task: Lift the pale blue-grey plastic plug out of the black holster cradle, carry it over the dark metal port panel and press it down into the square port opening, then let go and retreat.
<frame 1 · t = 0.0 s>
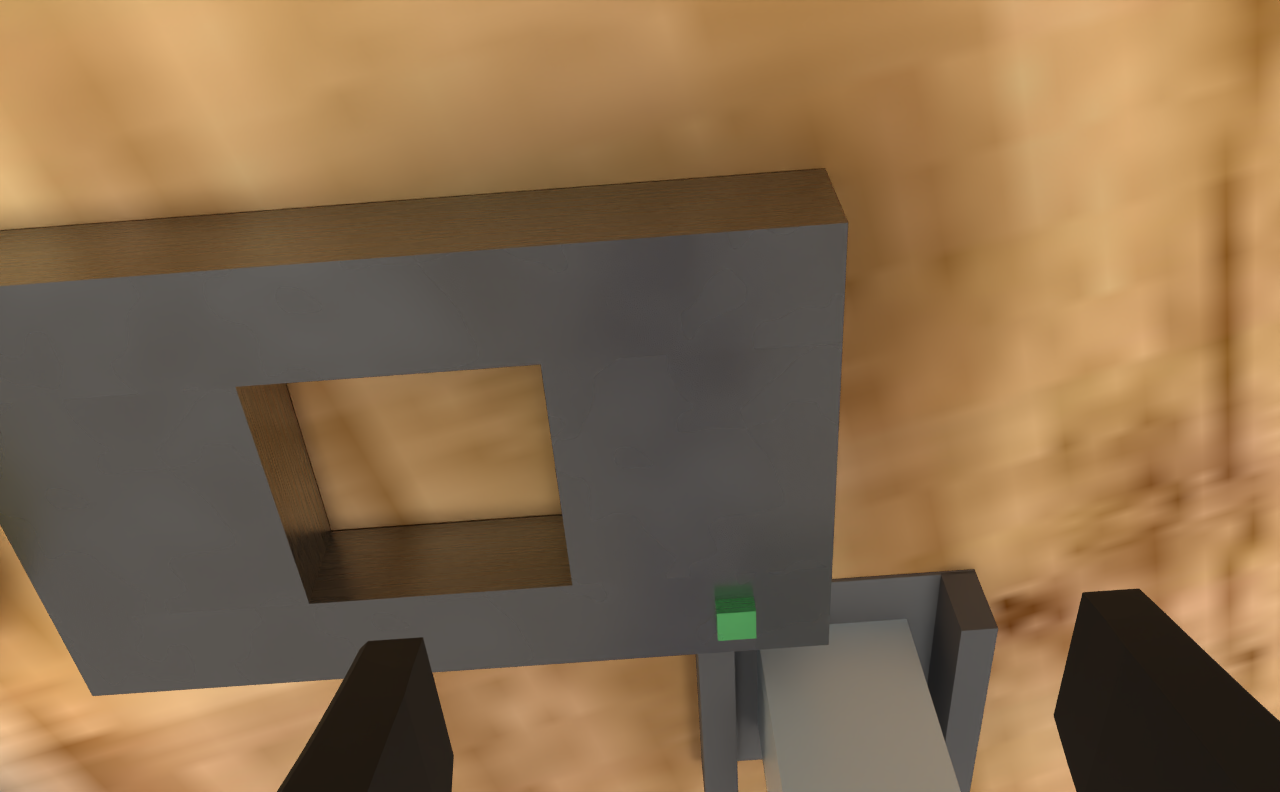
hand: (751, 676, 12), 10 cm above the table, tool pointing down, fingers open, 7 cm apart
port panel: (430, 424, 22), on the table
plug: (829, 674, 27), on the table, touching holster
holster: (828, 672, 27), on the table
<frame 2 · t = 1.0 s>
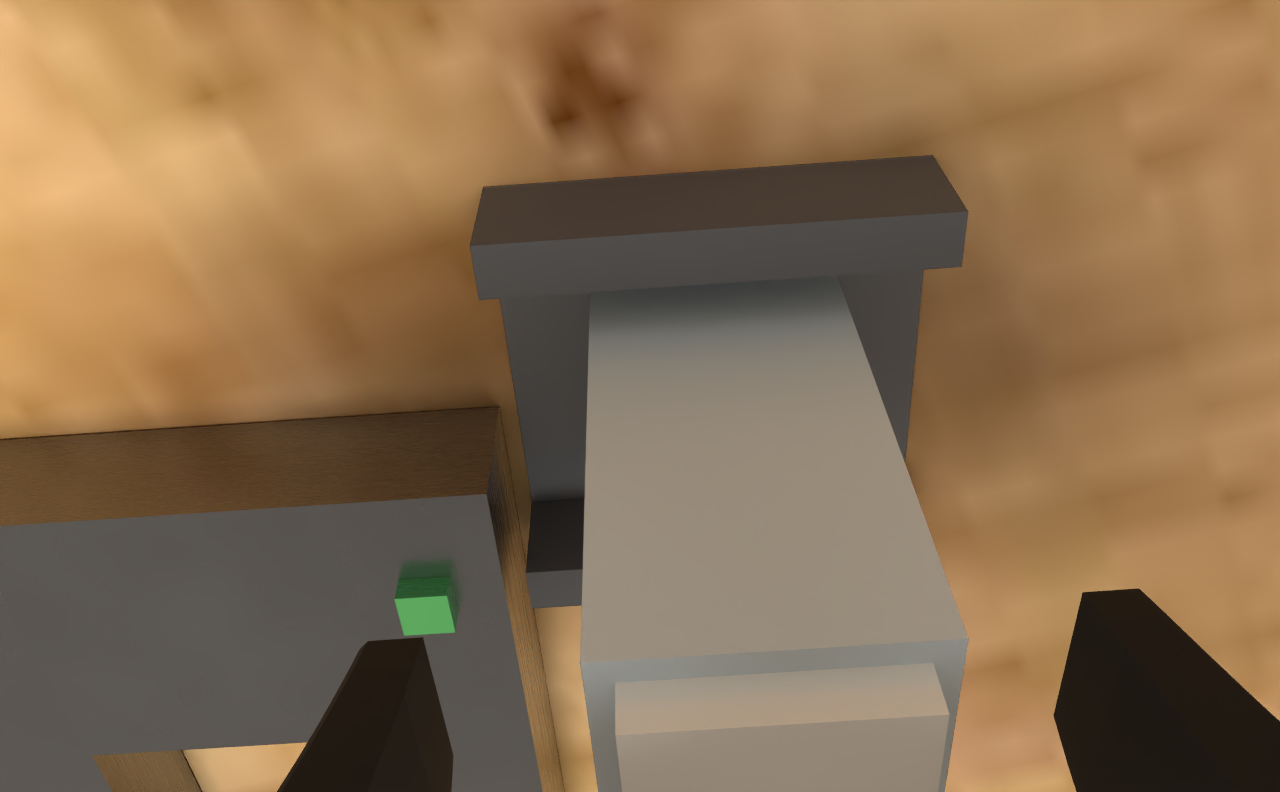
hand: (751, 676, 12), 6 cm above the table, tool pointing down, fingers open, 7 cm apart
port panel: (310, 740, 22), on the table
plug: (713, 368, 17), on the table, touching holster
holster: (713, 366, 17), on the table
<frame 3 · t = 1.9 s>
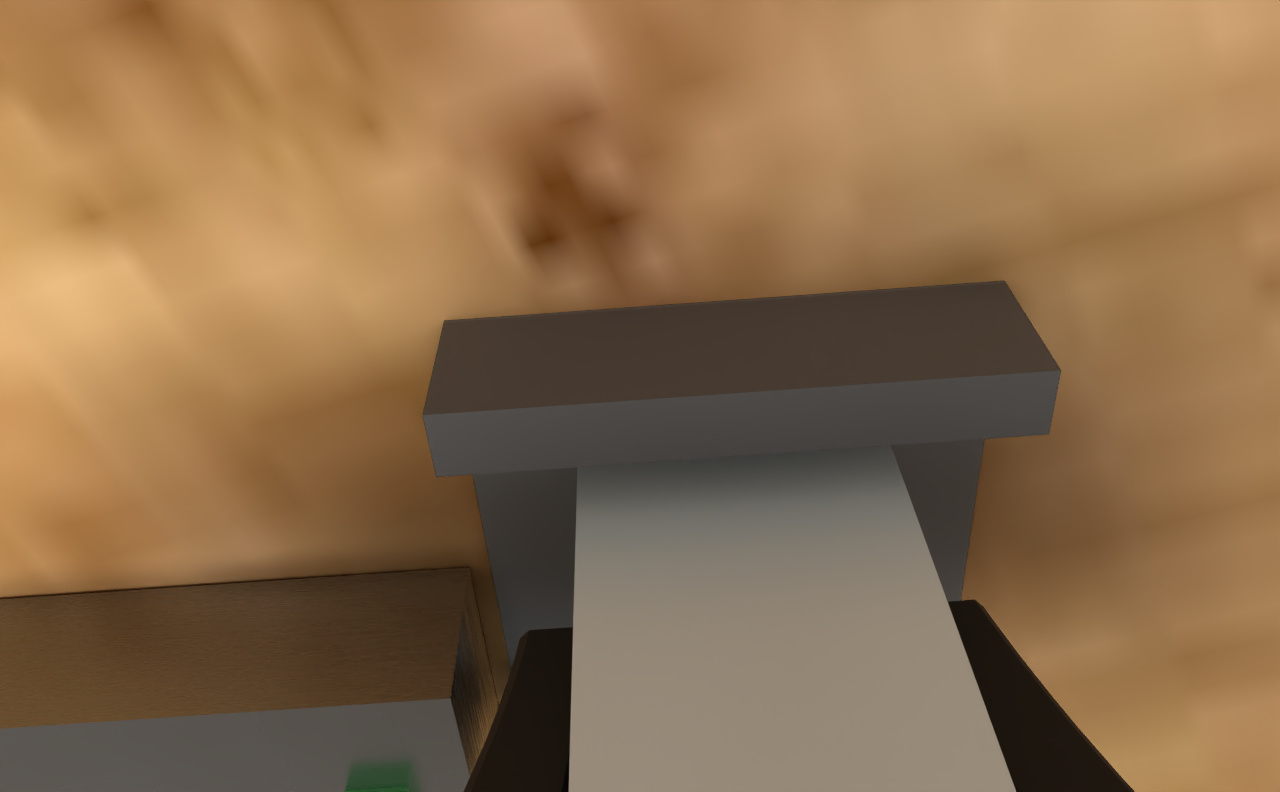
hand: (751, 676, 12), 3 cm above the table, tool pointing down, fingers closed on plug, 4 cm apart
plug: (729, 523, 14), on the table, touching gripper, holster
holster: (728, 521, 14), on the table
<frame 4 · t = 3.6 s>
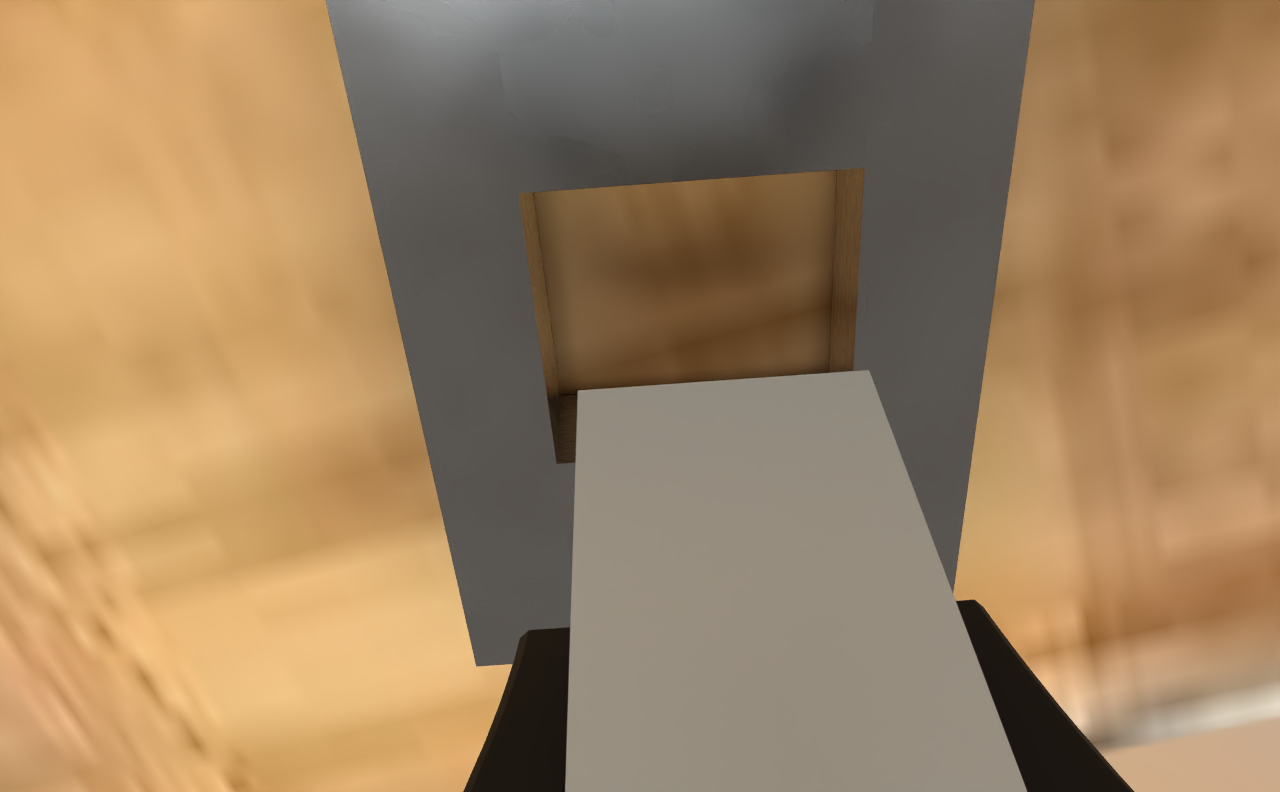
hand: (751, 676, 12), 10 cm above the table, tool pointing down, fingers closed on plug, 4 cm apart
port panel: (688, 267, 20), on the table
plug: (726, 493, 14), point 7 cm above the table, touching gripper
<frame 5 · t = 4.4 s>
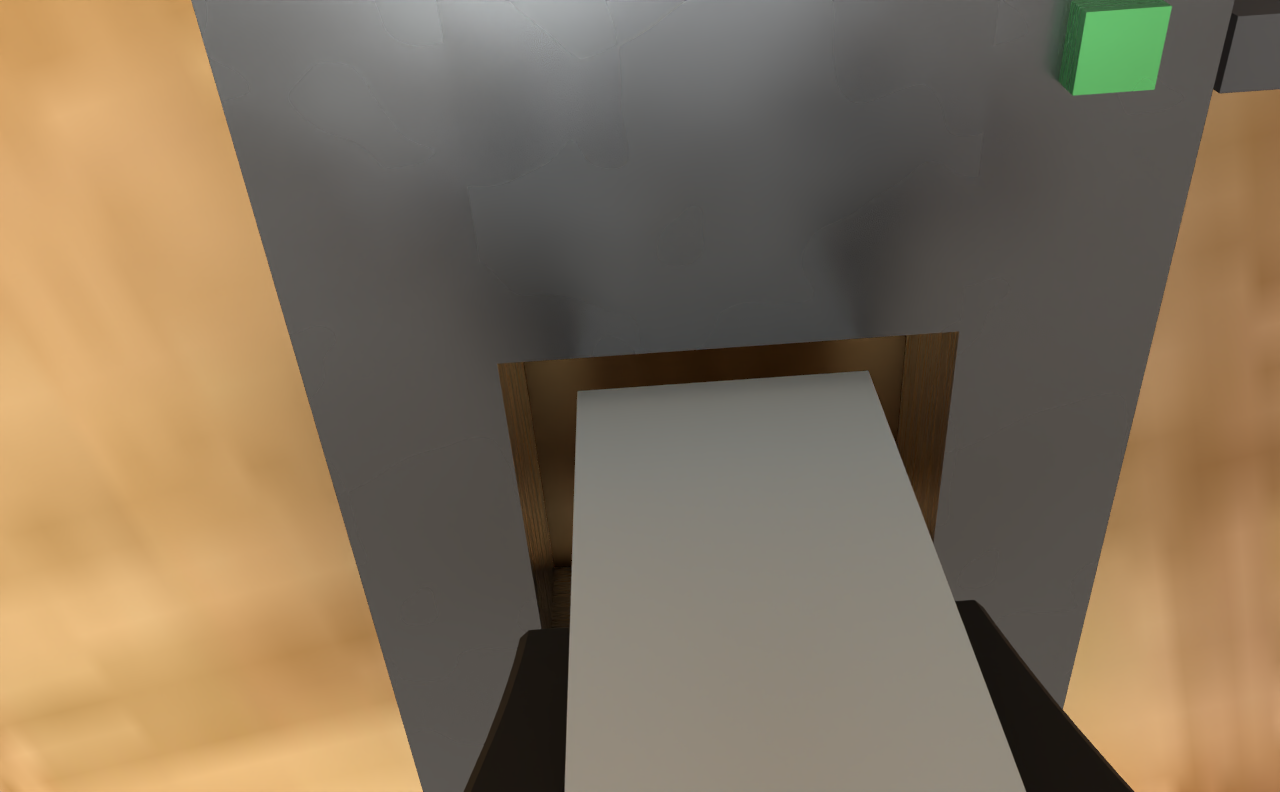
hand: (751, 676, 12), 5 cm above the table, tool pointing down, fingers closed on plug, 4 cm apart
port panel: (716, 422, 16), on the table
plug: (725, 493, 14), point 2 cm above the table, touching gripper
when the fingers open (4 cm above the table, at t = 5.0 s): plug stays where it is, on the table.
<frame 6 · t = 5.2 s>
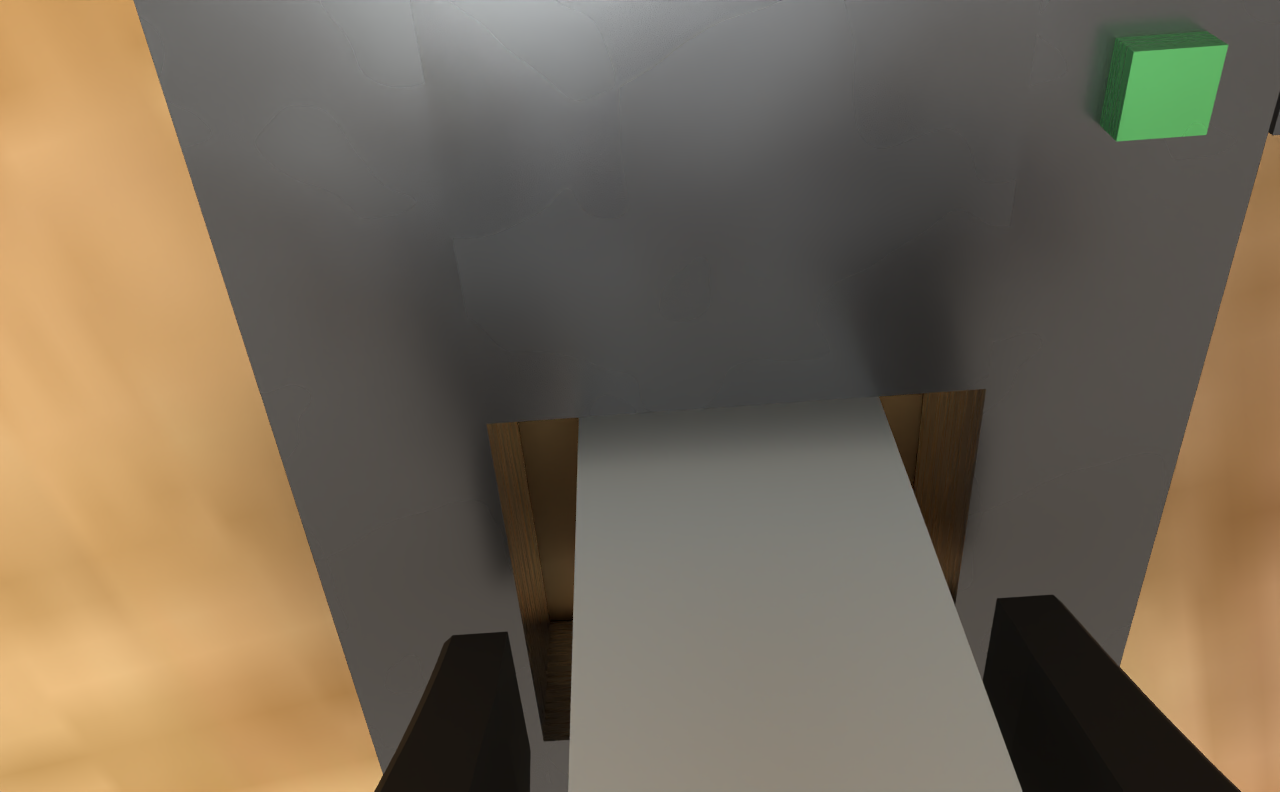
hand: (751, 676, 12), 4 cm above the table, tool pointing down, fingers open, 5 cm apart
port panel: (722, 472, 15), on the table
plug: (721, 462, 15), on the table
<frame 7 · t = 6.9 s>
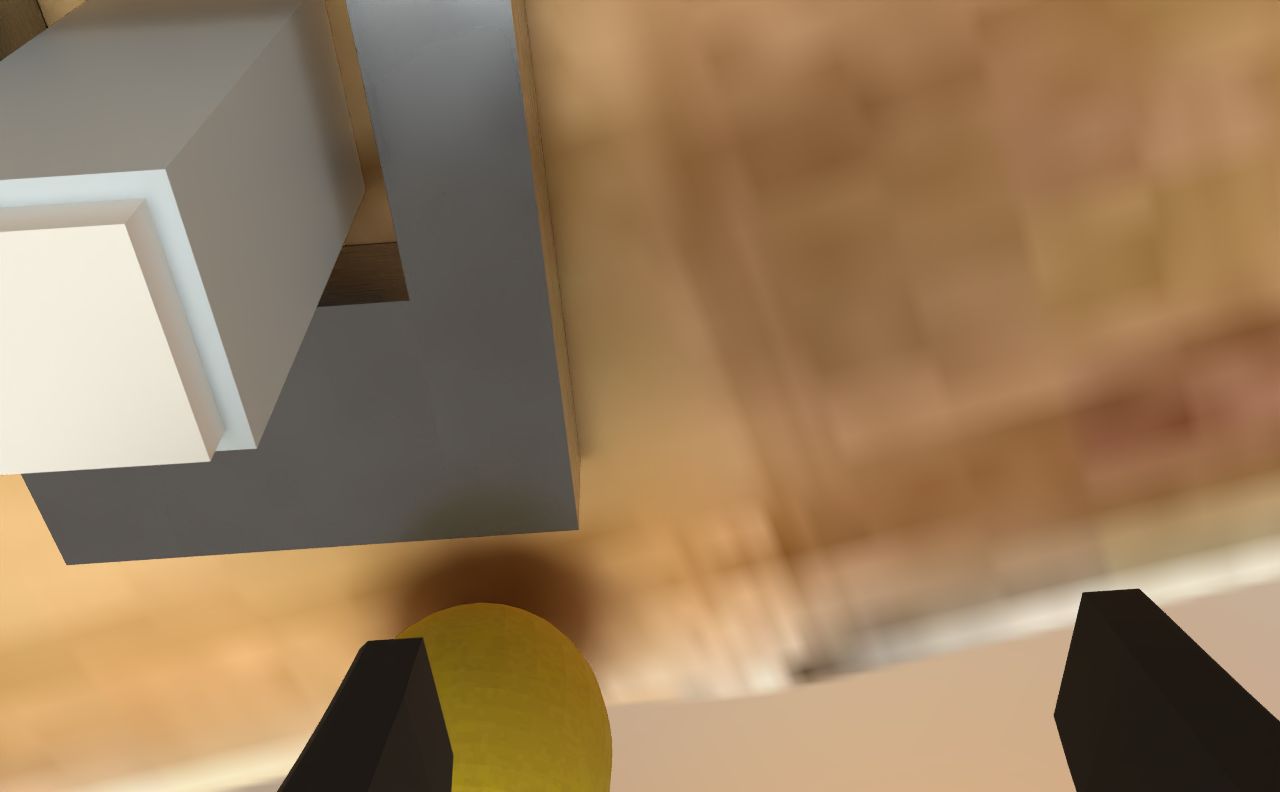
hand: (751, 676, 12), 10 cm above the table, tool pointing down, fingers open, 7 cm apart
port panel: (239, 107, 18), on the table
lemon: (493, 610, 26), on the table
plug: (237, 98, 18), on the table
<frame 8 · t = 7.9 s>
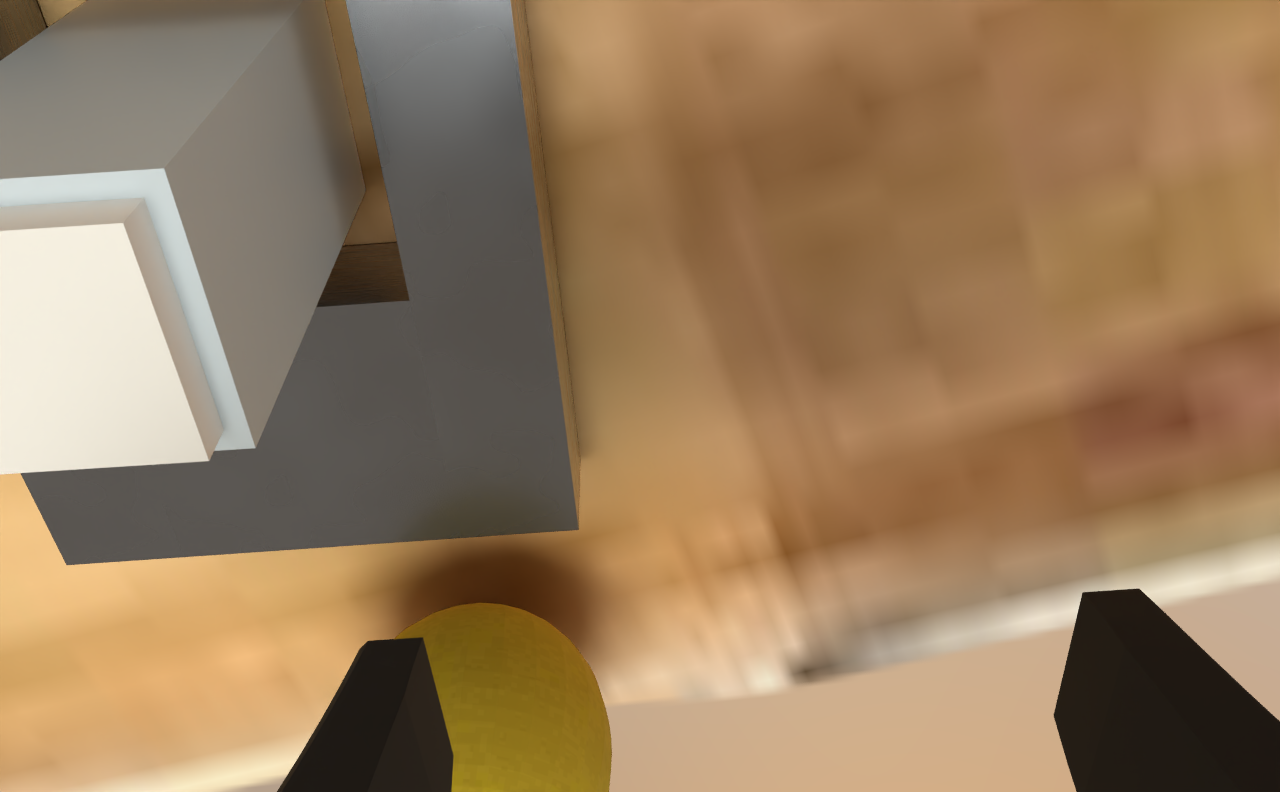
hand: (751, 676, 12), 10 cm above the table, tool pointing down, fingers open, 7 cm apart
port panel: (239, 107, 18), on the table
lemon: (493, 610, 26), on the table
plug: (237, 98, 18), on the table
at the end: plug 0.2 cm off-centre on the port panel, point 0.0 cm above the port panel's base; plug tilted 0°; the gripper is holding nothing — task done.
